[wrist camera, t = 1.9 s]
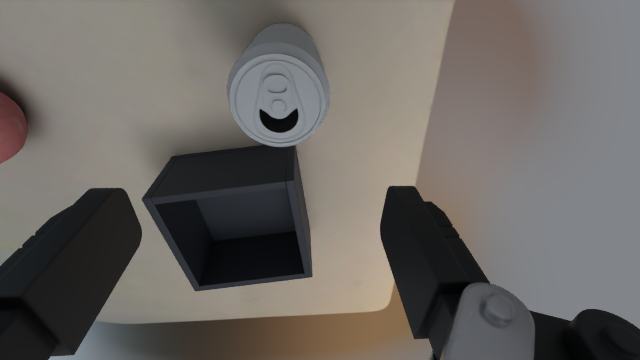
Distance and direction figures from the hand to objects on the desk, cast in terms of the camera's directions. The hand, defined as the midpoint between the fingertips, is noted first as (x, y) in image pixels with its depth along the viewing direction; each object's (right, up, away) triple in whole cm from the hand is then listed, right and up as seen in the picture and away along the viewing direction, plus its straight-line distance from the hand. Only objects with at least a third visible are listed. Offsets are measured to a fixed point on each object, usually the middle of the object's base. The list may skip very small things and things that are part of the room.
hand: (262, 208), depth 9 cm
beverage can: (-1, +12, +18) cm, 22 cm away
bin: (-7, -1, +26) cm, 27 cm away
